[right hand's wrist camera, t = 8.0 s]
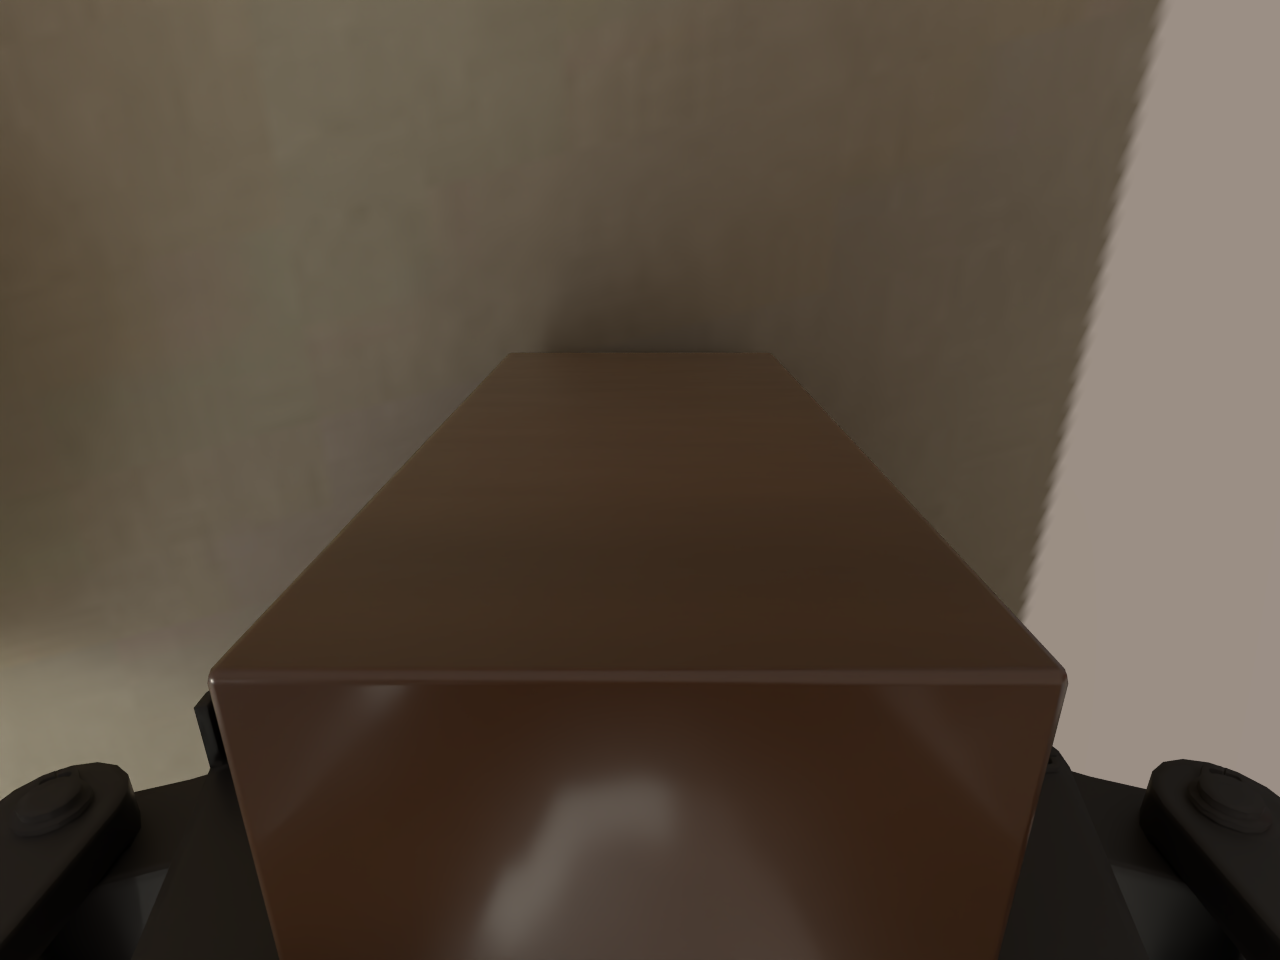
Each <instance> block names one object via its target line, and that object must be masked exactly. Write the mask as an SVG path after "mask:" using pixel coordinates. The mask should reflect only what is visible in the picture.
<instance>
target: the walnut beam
mask: <svg viewBox="0 0 1280 960" xmlns="http://www.w3.org/2000/svg"><path fill="white" fill-rule="evenodd" d="M1067 686H1068V679H1067V674H1066V672H1065V669H1064V668H1063V667H1062V665H1061V664H1060V663H1059V662H1058V661H1057V660H1056V659H1055V658H1054V657H1053V656H1052V655H1051V654H1050V653H1049V651H1048V650H1047V649H1046V648H1045V647H1044V646H1043V645H1042V644H1041V643H1040V642H1039V641H1038V640H1037V639H1036V638H1035V636H1034V635H1033V634H1032V633H1031V632H1030V631H1029V630H1028V629H1027V628H1026V627H1025V626H1024V625H1023V624H1022V622H1021V621H1020V620H1019V619H1018V618H1017V617H1016V616H1015V615H1014V614H1013V613H1012V612H1011V611H1010V610H1009V608H1008V607H1007V606H1006V605H1005V604H1004V603H1003V602H1002V601H1001V600H1000V599H999V598H998V597H997V596H996V595H995V593H994V592H993V591H992V590H991V589H990V588H989V587H988V586H987V585H986V584H985V583H984V582H983V581H982V579H981V578H980V577H979V576H978V575H977V574H976V573H975V572H974V571H973V570H972V569H971V568H970V567H969V566H968V564H967V563H966V562H965V561H964V560H963V559H962V558H961V557H960V556H959V555H958V554H957V553H956V552H955V550H954V549H953V548H952V547H951V546H950V545H949V544H948V543H947V542H946V541H945V540H944V539H943V538H942V536H941V535H940V534H939V533H938V532H937V531H936V530H935V529H934V528H933V527H932V526H931V525H930V524H929V523H928V521H927V520H926V519H925V518H924V517H923V516H922V515H921V514H920V513H919V512H918V511H917V510H916V509H915V507H914V506H913V505H912V504H911V503H910V502H909V501H908V500H907V499H906V498H905V497H904V496H903V495H902V493H901V492H900V491H899V490H898V489H897V488H896V487H895V486H894V485H893V484H892V483H891V482H890V481H889V480H888V478H887V477H886V476H885V475H884V474H883V473H882V472H881V471H880V470H879V469H878V468H877V467H876V466H875V464H874V463H873V462H872V461H871V460H870V459H869V458H868V457H867V456H866V455H865V454H864V453H863V452H862V450H861V449H860V448H859V447H858V446H857V445H856V444H855V443H854V442H853V441H852V440H851V439H850V438H849V437H848V435H847V434H846V433H845V432H844V431H843V430H842V429H841V428H840V427H839V426H838V425H837V424H836V423H835V421H834V420H833V419H832V418H831V417H830V416H829V415H828V414H827V413H826V412H825V411H824V410H823V409H822V408H821V406H820V405H819V404H818V403H817V402H816V401H815V400H814V399H813V398H812V397H811V396H810V395H809V394H808V392H807V391H806V390H805V389H804V388H803V387H802V386H801V385H800V384H799V383H798V382H797V381H796V380H795V378H794V377H793V376H792V375H791V374H790V373H789V372H788V371H787V370H786V369H785V368H784V367H783V366H782V365H781V363H780V362H779V361H778V360H777V359H776V358H775V357H774V356H773V355H772V354H771V353H510V354H508V355H507V356H506V357H505V358H504V359H503V360H502V361H501V363H500V364H499V365H498V366H497V367H496V368H495V369H494V370H493V371H492V372H491V373H490V374H489V375H488V376H487V377H486V378H485V379H484V381H483V382H482V383H481V384H480V385H479V386H478V387H477V388H476V389H475V390H474V391H473V392H472V393H471V394H470V395H469V396H468V397H467V399H466V400H465V401H464V402H463V403H462V404H461V405H460V406H459V407H458V408H457V409H456V410H455V411H454V412H453V413H452V414H451V415H450V417H449V418H448V419H447V420H446V421H445V422H444V423H443V424H442V425H441V426H440V427H439V428H438V429H437V430H436V431H435V432H434V433H433V435H432V436H431V437H430V438H429V439H428V440H427V441H426V442H425V443H424V444H423V445H422V446H421V447H420V448H419V449H418V450H417V451H416V452H415V454H414V455H413V456H412V457H411V458H410V459H409V460H408V461H407V462H406V463H405V464H404V465H403V466H402V467H401V468H400V469H399V470H398V472H397V473H396V474H395V475H394V476H393V477H392V478H391V479H390V480H389V481H388V482H387V483H386V484H385V485H384V486H383V487H382V488H381V490H380V491H379V492H378V493H377V494H376V495H375V496H374V497H373V498H372V499H371V500H370V501H369V502H368V503H367V504H366V505H365V506H364V508H363V509H362V510H361V511H360V512H359V513H358V514H357V515H356V516H355V517H354V518H353V519H352V520H351V521H350V522H349V523H348V524H347V526H346V527H345V528H344V529H343V530H342V531H341V532H340V533H339V534H338V535H337V536H336V537H335V538H334V539H333V540H332V541H331V542H330V543H329V545H328V546H327V547H326V548H325V549H324V550H323V551H322V552H321V553H320V554H319V555H318V556H317V557H316V558H315V559H314V560H313V561H312V563H311V564H310V565H309V566H308V567H307V568H306V569H305V570H304V571H303V572H302V573H301V574H300V575H299V576H298V577H297V578H296V579H295V581H294V582H293V583H292V584H291V585H290V586H289V587H288V588H287V589H286V590H285V591H284V592H283V593H282V594H281V595H280V596H279V597H278V599H277V600H276V601H275V602H274V603H273V604H272V605H271V606H270V607H269V608H268V609H267V610H266V611H265V612H264V613H263V614H262V615H261V617H260V618H259V619H258V620H257V621H256V622H255V623H254V624H253V625H252V626H251V627H250V628H249V629H248V630H247V631H246V632H245V633H244V634H243V636H242V637H241V638H240V639H239V640H238V641H237V642H236V643H235V644H234V645H233V646H232V647H231V648H230V649H229V650H228V651H227V652H226V654H225V655H224V656H223V657H222V658H221V659H220V660H219V661H218V662H217V663H216V664H215V665H214V666H213V667H212V668H211V671H210V673H209V677H208V687H209V691H210V695H211V698H212V702H213V706H214V710H215V714H216V718H217V721H218V725H219V729H220V733H221V737H222V741H223V745H224V748H225V752H226V756H227V760H228V764H229V768H230V772H231V775H232V779H233V783H234V787H235V791H236V795H237V798H238V802H239V806H240V810H241V814H242V818H243V822H244V825H245V829H246V833H247V837H248V841H249V845H250V848H251V852H252V856H253V860H254V864H255V868H256V872H257V875H258V879H259V883H260V887H261V891H262V895H263V899H264V902H265V906H266V910H267V914H268V918H269V922H270V925H271V929H272V933H273V937H274V941H275V945H276V949H277V952H278V956H279V960H998V957H999V953H1000V949H1001V945H1002V941H1003V937H1004V933H1005V929H1006V925H1007V921H1008V917H1009V914H1010V910H1011V906H1012V902H1013V898H1014V894H1015V890H1016V886H1017V882H1018V878H1019V874H1020V870H1021V866H1022V863H1023V859H1024V855H1025V851H1026V847H1027V843H1028V839H1029V835H1030V831H1031V827H1032V823H1033V819H1034V816H1035V812H1036V808H1037V804H1038V800H1039V796H1040V792H1041V788H1042V784H1043V780H1044V776H1045V772H1046V768H1047V765H1048V761H1049V757H1050V753H1051V749H1052V745H1053V741H1054V737H1055V733H1056V729H1057V725H1058V721H1059V718H1060V713H1061V710H1062V706H1063V702H1064V698H1065V694H1066V690H1067Z"/></svg>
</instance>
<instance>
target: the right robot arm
mask: <svg viewBox="0 0 1280 960" xmlns="http://www.w3.org/2000/svg"><path fill="white" fill-rule="evenodd" d="M194 710H195V714H196V717H197V721H198V725H199V728H200V732H201V736H202V739H203V743H204V746H205V750H206V754H207V757H208V761H209V765H210V771H209V773H208V775H204V776H201V777H197V778H194V779H191V780H186V781H182V782H177V783H173V784H169V785H164V786H160V787H155V788H151V789H146V790H142V791H138V792H134V791H133V788H132V785H131V782H130V779H129V776H128V774H127V773H126V772H125V771H123V770H122V769H121V768H120V767H119V766H118V765H112V764H106V763H99V762H96V763H89V764H81V765H74V766H70V767H67V768H64V769H60V770H58V771H54V772H51V773H49V774H46V775H43V776H41V777H39V778H37V779H35V780H33V781H31V782H29V783H28V784H26V785H24V786H22V787H20V788H18V789H16V790H14V791H13V792H12V793H10V794H9V795H8V796H6V797H5V798H4V799H2V800H1V801H0V960H279V956H278V952H277V949H276V945H275V941H274V937H273V933H272V929H271V925H270V922H269V918H268V914H267V910H266V906H265V902H264V899H263V895H262V891H261V887H260V883H259V879H258V875H257V872H256V868H255V864H254V860H253V856H252V852H251V848H250V845H249V841H248V837H247V833H246V829H245V825H244V822H243V818H242V814H241V810H240V806H239V802H238V798H237V795H236V791H235V787H234V783H233V779H232V775H231V772H230V768H229V764H228V760H227V756H226V752H225V748H224V745H223V741H222V737H221V733H220V729H219V725H218V721H217V718H216V714H215V710H214V706H213V702H212V698H211V695H210V691H208V692H206V693H205V695H204V696H203V697H202V698H201V700H200V701H199V702H198V703H197V705H196V706H195V707H194ZM998 960H1280V797H1279V796H1277V795H1276V794H1275V793H1273V792H1272V791H1271V790H1270V789H1268V788H1267V787H1265V786H1263V785H1261V784H1259V783H1257V782H1256V781H1254V780H1252V779H1250V778H1248V777H1246V776H1244V775H1242V774H1240V773H1238V772H1235V771H1233V770H1230V769H1227V768H1223V767H1221V766H1217V765H1214V764H1211V763H1208V762H1201V761H1193V760H1186V759H1180V760H1174V761H1167V762H1163V763H1162V764H1160V765H1159V766H1158V767H1157V768H1156V769H1155V770H1153V771H1152V774H1151V777H1150V780H1149V783H1148V786H1147V789H1143V788H1138V787H1134V786H1129V785H1125V784H1120V783H1116V782H1112V781H1107V780H1103V779H1098V778H1094V777H1090V776H1086V775H1083V774H1079V773H1076V772H1072V771H1071V769H1070V767H1069V766H1068V764H1067V763H1066V761H1065V760H1064V758H1063V757H1062V755H1061V754H1060V753H1059V751H1058V750H1057V749H1055V748H1054V747H1053V746H1052V749H1051V753H1050V757H1049V761H1048V765H1047V768H1046V772H1045V776H1044V780H1043V784H1042V788H1041V792H1040V796H1039V800H1038V804H1037V808H1036V812H1035V816H1034V819H1033V823H1032V827H1031V831H1030V835H1029V839H1028V843H1027V847H1026V851H1025V855H1024V859H1023V863H1022V866H1021V870H1020V874H1019V878H1018V882H1017V886H1016V890H1015V894H1014V898H1013V902H1012V906H1011V910H1010V914H1009V917H1008V921H1007V925H1006V929H1005V933H1004V937H1003V941H1002V945H1001V949H1000V953H999V957H998Z"/></svg>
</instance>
